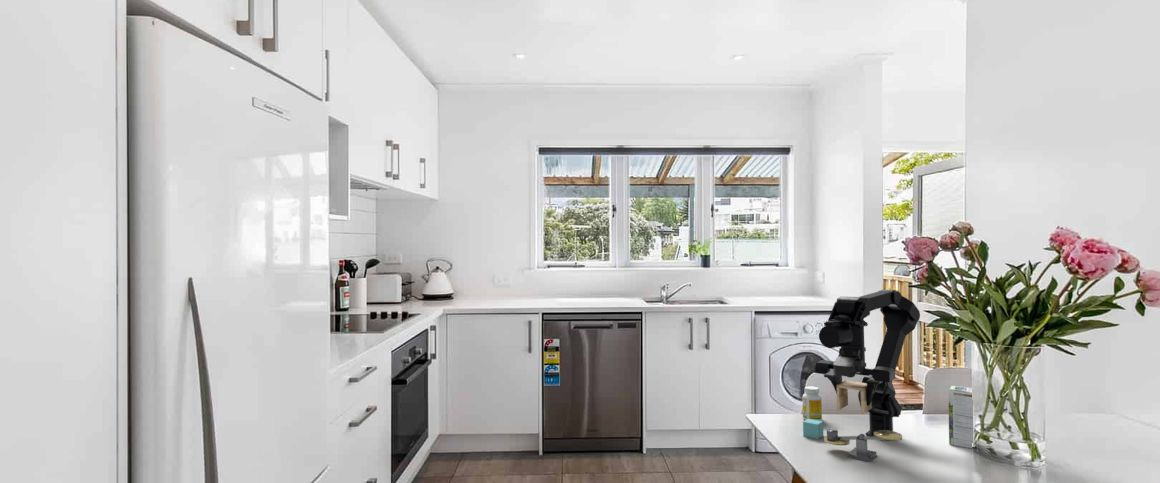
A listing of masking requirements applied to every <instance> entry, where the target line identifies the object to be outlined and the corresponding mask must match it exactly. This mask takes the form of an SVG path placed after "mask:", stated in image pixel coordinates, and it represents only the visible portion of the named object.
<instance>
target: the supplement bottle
mask: <svg viewBox="0 0 1160 483" xmlns="http://www.w3.org/2000/svg"><path fill="white" fill-rule="evenodd" d="M819 393H820V387H817V386H812V385H811V386H809V385H808V386H805V387H804V393H803V395H802V399H801V400H802V419H804V421H805V420H807V419H814V420H819V421H823V411H822V406H823V405H822V403H823V402H822V396H821V395H820V394H819Z"/></svg>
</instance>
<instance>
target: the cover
mask: <svg viewBox="0 0 1160 483" xmlns="http://www.w3.org/2000/svg"><path fill="white" fill-rule="evenodd" d="M848 390H854V391H861V406H860V411H861V412H860V413H861V415H865V414H866V413H869V412H868V411H869V410H870V409H872V405H871V403H870V405H869V406H867V383H862V382H857V381H853V380H842V382H841V383H839V384H837V394H836V406H837V407H836V408H837V411H841V410H842V409H844V408H846V407H848V406H849V399H848V398H849V397H848V396H849V393H848V392H849V391H848Z"/></svg>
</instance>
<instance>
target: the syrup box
mask: <svg viewBox="0 0 1160 483" xmlns="http://www.w3.org/2000/svg"><path fill="white" fill-rule="evenodd" d="M972 388H973V387H967V386H960V385H959V386H958V385H957V386H956V385H951V387H949V389H948V444H949V445H950V446H955V447H961V448H967V449H973V448H972V443H973V400H972Z"/></svg>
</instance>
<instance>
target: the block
mask: <svg viewBox="0 0 1160 483" xmlns="http://www.w3.org/2000/svg"><path fill="white" fill-rule="evenodd" d="M802 431H803V432H802V435H803V436H802V437H806V438H811V439H816V440H819V439H820V438H822V437H823V436H824V420H821V421H819V420H814V419H807V420H805V419H804V421H802Z"/></svg>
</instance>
